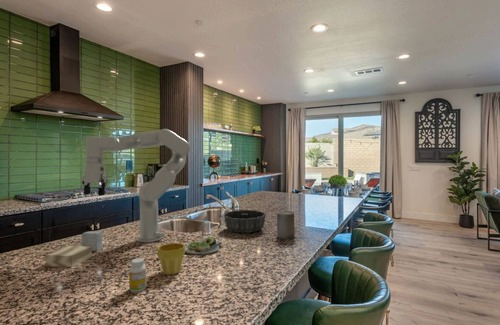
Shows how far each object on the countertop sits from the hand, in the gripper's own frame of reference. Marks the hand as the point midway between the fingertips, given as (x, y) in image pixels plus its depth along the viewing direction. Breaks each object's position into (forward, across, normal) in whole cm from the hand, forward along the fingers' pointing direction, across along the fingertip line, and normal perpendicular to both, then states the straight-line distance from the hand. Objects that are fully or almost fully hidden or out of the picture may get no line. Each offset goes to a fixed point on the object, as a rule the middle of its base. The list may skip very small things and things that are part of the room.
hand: (94, 194), depth 140 cm
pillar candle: (+24, -88, -49) cm, 104 cm away
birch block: (+27, -7, +18) cm, 33 cm away
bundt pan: (+25, -60, -57) cm, 86 cm away
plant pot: (+26, -56, +12) cm, 63 cm away
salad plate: (+26, -54, -16) cm, 62 cm away
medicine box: (+27, -3, +3) cm, 27 cm away
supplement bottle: (+26, -54, +28) cm, 66 cm away
